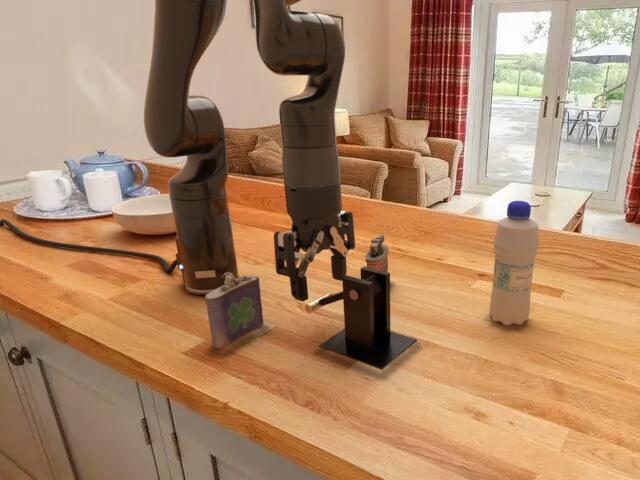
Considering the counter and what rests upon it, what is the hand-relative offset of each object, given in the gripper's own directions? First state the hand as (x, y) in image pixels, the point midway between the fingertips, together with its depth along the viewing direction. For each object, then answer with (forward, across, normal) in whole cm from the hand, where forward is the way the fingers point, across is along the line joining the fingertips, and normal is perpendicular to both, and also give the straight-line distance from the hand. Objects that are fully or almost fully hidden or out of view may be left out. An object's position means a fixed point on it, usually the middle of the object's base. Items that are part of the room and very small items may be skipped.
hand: (320, 289), depth 72 cm
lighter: (+8, -18, -2) cm, 20 cm away
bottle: (+8, -19, +23) cm, 30 cm away
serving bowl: (+7, -19, -68) cm, 71 cm away
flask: (+8, +8, -10) cm, 15 cm away
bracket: (+8, 0, +8) cm, 11 cm away
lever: (+1, 0, +5) cm, 5 cm away
